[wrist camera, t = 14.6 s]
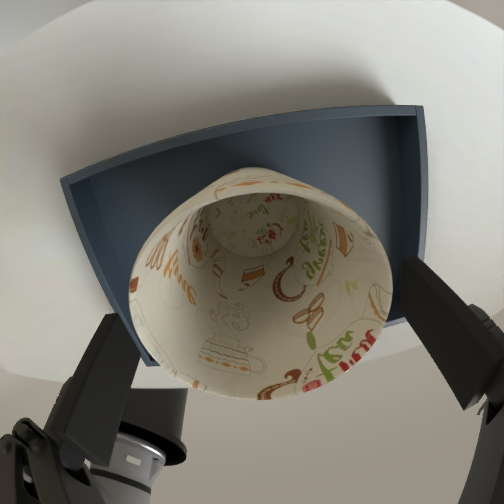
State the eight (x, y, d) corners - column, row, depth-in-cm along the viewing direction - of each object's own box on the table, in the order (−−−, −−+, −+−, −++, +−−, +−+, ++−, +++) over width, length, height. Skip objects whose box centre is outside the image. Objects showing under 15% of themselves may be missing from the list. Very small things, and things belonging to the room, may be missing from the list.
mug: (256, 117, 14) (277, 110, 6) (375, 259, 19) (447, 359, 10) (159, 214, 17) (85, 315, 8) (287, 326, 21) (308, 441, 12)
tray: (155, 340, 22) (146, 366, 20) (84, 168, 16) (59, 179, 13) (398, 296, 21) (414, 319, 18) (397, 105, 14) (423, 105, 12)
